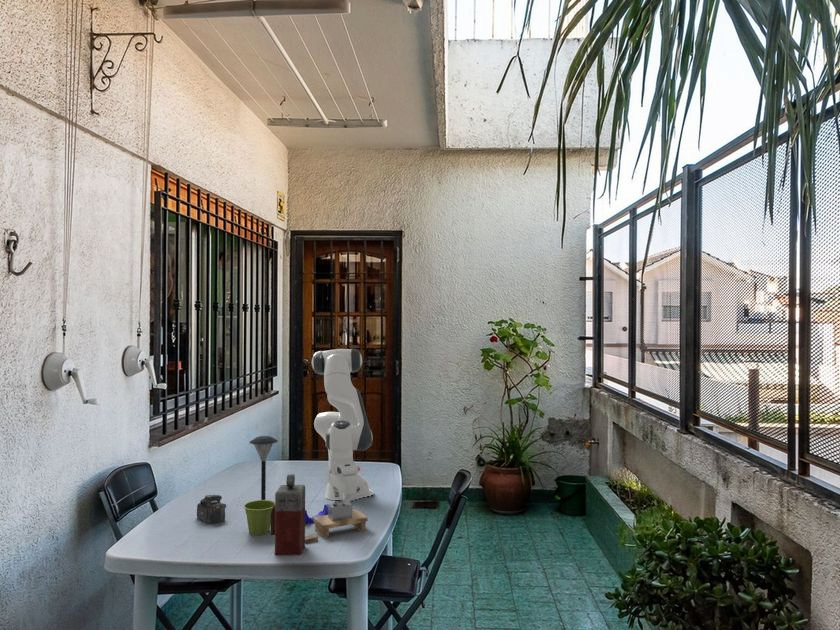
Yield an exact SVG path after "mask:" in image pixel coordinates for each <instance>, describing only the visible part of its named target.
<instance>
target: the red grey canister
mask: <svg viewBox="0 0 840 630" xmlns="http://www.w3.org/2000/svg"><path fill="white" fill-rule="evenodd" d="M295 477H296V476H295V474H290V473H289V474H287V475H286V482H285V483H286V484H281V485H279V487H278V489H277V490H276V492H275V495H274V496H275V497H274V502H275V504H274V506H273V508H272V511H271V525H270V536H274V556H302V554H303V551H304V550H305V547H306V543H305V536H306V522H305V510H306V486H305V484H295Z"/></svg>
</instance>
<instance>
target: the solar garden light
mask: <svg viewBox="0 0 840 630" xmlns="http://www.w3.org/2000/svg"><path fill="white" fill-rule="evenodd" d="M278 442H279V440H278V439H276V438H274V437H273V436H270V435H261V436H256V437H255V438H252V439H251V440H249V442H248V443H249V444H251V445H254V448H255V450H256V452H257V455H258V457H259V459H260V460H261V474H260V475H261V476H260V477H261V479H260V482H261V484H260V485H261V489H260V491H261V492H260V493H261V494H260V495H261V496H260V498H261V499H260V500H266V491H267V490H266V488H267V487H266V485H267V483H266V479H267V477H266V475H267V473H266V469H267V468H266V466H267V465H266V462H267V458H268V456H269V454H270V451H271V449H272V447H273V445H274V444H275V443H278Z"/></svg>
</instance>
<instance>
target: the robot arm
mask: <svg viewBox="0 0 840 630" xmlns="http://www.w3.org/2000/svg"><path fill="white" fill-rule="evenodd" d="M362 365H363V357H362V354H361V352H360V351H359V350H358V349H357V348H336V349H329V350H319V351H316V352H314V353H313V356H312V358H311V367H312V369H313V372H314V373H315V374H317V375H322V376H323V383H324V390H325V393H326V394H327V397H326V398H327V402H328V403H329V404H330V405H331V406H332V407H334V408H336V410H337V411H325V412H320V413H318V414H317V415H316V417H315V419H314V422H313V425H314V430H315V431H316V433H318V434H319V435H320V436H321V438H322V439H323V440H324V441H325V445H324V446H325V448H327V451H328V453H327V454H328V466H327V487H326V490H325V491H326V492H325V494H324V495H325V496H324V498H325V499H326V500H330V501H335V500H343V503H344V504H345V505H348V504H349V503H350V502H351V501H350V500H353V501H355V500H354V499H357V500H359V499H358V498H361V499H363V498H362V497H365V498H367V497H366V496H369V497H372V496H371V495H373V494H374V493H375V492H374V491H373V490H372V489H371V488H369V483H368V481H367V479H365V478H364V477H363V476H362V475H361V474H359V472H360V470H361V467H359V466H357V465H356V463H355V461H354V458H353V457H354V455H353V454H354V451H363V452H364V451H366V450H368V449H369V448H370V447H371V446H372V445H373V432H372V430H371V427H370V424H369V421H368V418H367V413H366V409H365V405H364V401H363V398H362V394H361V392H360V390H359V389H358V388H356V387H355V386H354V385H353V383H352V380H351V373H352V374H354V373H357V372H359V370H360V369H361V367H362ZM373 496H374V495H373Z"/></svg>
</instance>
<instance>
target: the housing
mask: <svg viewBox="0 0 840 630" xmlns="http://www.w3.org/2000/svg"><path fill="white" fill-rule="evenodd" d="M327 504H328V518H329V519H330V520H332V521H337V520H342V519H348V518H352V510H353V503H351V502H349V504H348V505H345V504H344V503H343V500H342V501H337V502H336V501H332V503H327Z"/></svg>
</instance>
